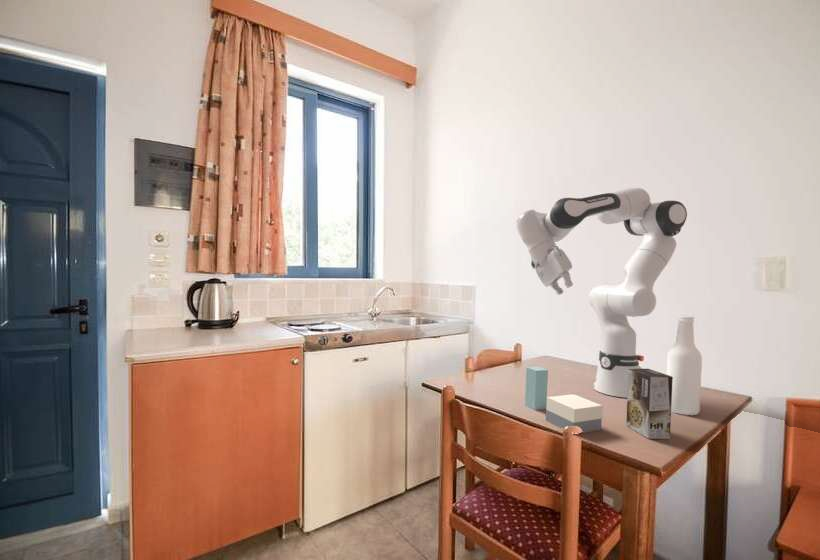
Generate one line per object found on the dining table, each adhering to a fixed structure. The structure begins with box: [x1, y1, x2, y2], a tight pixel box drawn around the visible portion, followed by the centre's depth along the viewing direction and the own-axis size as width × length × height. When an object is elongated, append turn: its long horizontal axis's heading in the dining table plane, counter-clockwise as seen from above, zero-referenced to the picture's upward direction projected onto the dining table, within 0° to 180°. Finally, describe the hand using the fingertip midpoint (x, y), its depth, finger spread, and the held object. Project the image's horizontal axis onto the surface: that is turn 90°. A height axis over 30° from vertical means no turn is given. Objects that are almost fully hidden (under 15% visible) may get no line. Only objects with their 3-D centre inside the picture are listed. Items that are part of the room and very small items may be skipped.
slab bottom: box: [545, 409, 602, 434], centre depth 105 cm, size 10×10×4 cm
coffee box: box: [625, 368, 673, 440], centre depth 102 cm, size 9×6×16 cm
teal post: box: [524, 366, 549, 411], centre depth 119 cm, size 4×4×12 cm
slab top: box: [545, 393, 604, 423], centre depth 105 cm, size 10×10×4 cm
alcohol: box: [666, 314, 703, 417], centre depth 120 cm, size 9×9×30 cm
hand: (565, 290), depth 125 cm, fingers open, 8 cm apart
